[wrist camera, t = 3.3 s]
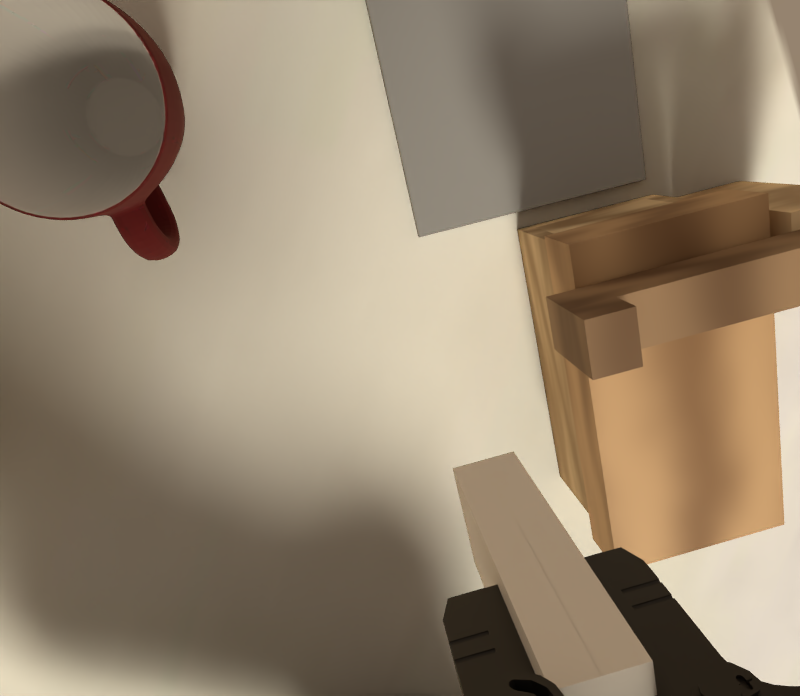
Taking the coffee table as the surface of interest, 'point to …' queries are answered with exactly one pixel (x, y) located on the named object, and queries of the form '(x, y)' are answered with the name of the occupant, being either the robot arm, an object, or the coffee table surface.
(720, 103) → the coffee table surface
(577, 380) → the lid
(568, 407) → the open wooden box
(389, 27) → the mat
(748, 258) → the key
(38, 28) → the mug
